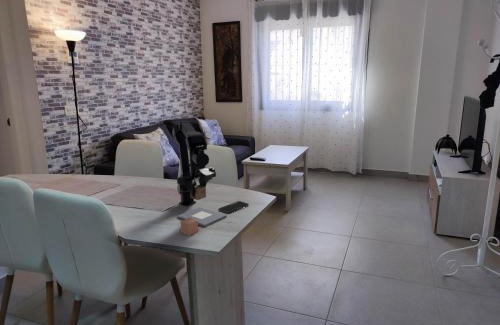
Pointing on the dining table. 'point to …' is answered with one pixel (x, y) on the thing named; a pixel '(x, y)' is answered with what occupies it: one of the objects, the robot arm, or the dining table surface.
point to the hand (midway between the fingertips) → (198, 195)
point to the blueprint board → (203, 216)
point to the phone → (233, 207)
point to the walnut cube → (199, 192)
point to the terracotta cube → (189, 226)
